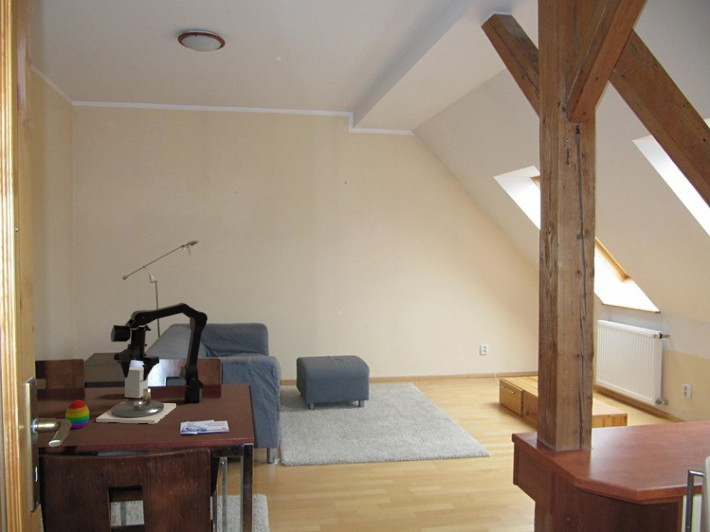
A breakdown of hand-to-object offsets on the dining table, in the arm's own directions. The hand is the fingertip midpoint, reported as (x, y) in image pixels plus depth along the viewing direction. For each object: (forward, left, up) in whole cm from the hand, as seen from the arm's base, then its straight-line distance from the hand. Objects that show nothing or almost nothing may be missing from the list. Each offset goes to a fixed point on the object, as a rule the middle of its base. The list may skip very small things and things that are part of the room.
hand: (135, 379), depth 241 cm
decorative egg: (+12, +23, -13) cm, 29 cm away
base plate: (-4, +6, -13) cm, 15 cm away
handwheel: (-4, +5, -11) cm, 13 cm away
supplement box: (+8, -21, -13) cm, 26 cm away
